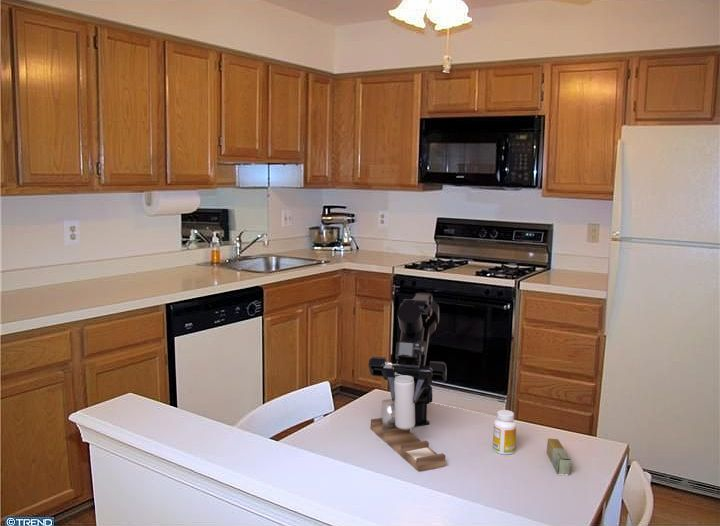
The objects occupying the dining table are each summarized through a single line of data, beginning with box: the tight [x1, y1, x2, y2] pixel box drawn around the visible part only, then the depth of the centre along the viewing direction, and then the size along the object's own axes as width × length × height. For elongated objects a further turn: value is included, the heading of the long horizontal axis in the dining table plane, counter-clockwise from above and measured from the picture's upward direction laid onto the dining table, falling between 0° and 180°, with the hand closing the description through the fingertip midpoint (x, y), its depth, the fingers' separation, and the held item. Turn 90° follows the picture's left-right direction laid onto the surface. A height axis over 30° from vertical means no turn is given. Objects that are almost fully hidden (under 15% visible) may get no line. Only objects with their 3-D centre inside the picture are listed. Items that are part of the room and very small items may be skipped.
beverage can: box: [394, 374, 416, 430], centre depth 151 cm, size 5×5×12 cm
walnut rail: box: [370, 417, 446, 473], centre depth 157 cm, size 26×7×3 cm, turn 24°
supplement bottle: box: [492, 409, 517, 456], centre depth 155 cm, size 5×5×10 cm
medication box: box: [546, 438, 572, 475], centre depth 149 cm, size 12×3×4 cm, turn 177°
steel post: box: [381, 398, 397, 430], centre depth 164 cm, size 5×5×7 cm
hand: (403, 401), depth 150 cm, fingers closed on beverage can, 5 cm apart
